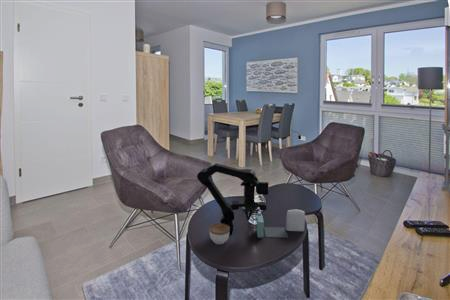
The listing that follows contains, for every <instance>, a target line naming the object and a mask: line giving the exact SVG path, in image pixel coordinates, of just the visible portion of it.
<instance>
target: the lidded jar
mask: <svg viewBox="0 0 450 300" xmlns="http://www.w3.org/2000/svg"><path fill="white" fill-rule="evenodd" d="M208 230H209V231H208V232H209V237H210V240H211V241H212V242H213V243H214V244H215V245H224V244H225V243H226V242H227V241H228V240H229V236H230V234H229V233H230V227H229V226H228V225H226V224H222V223H221V222H219V223H214V224H211V225H210V226H209V229H208Z"/></svg>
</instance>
